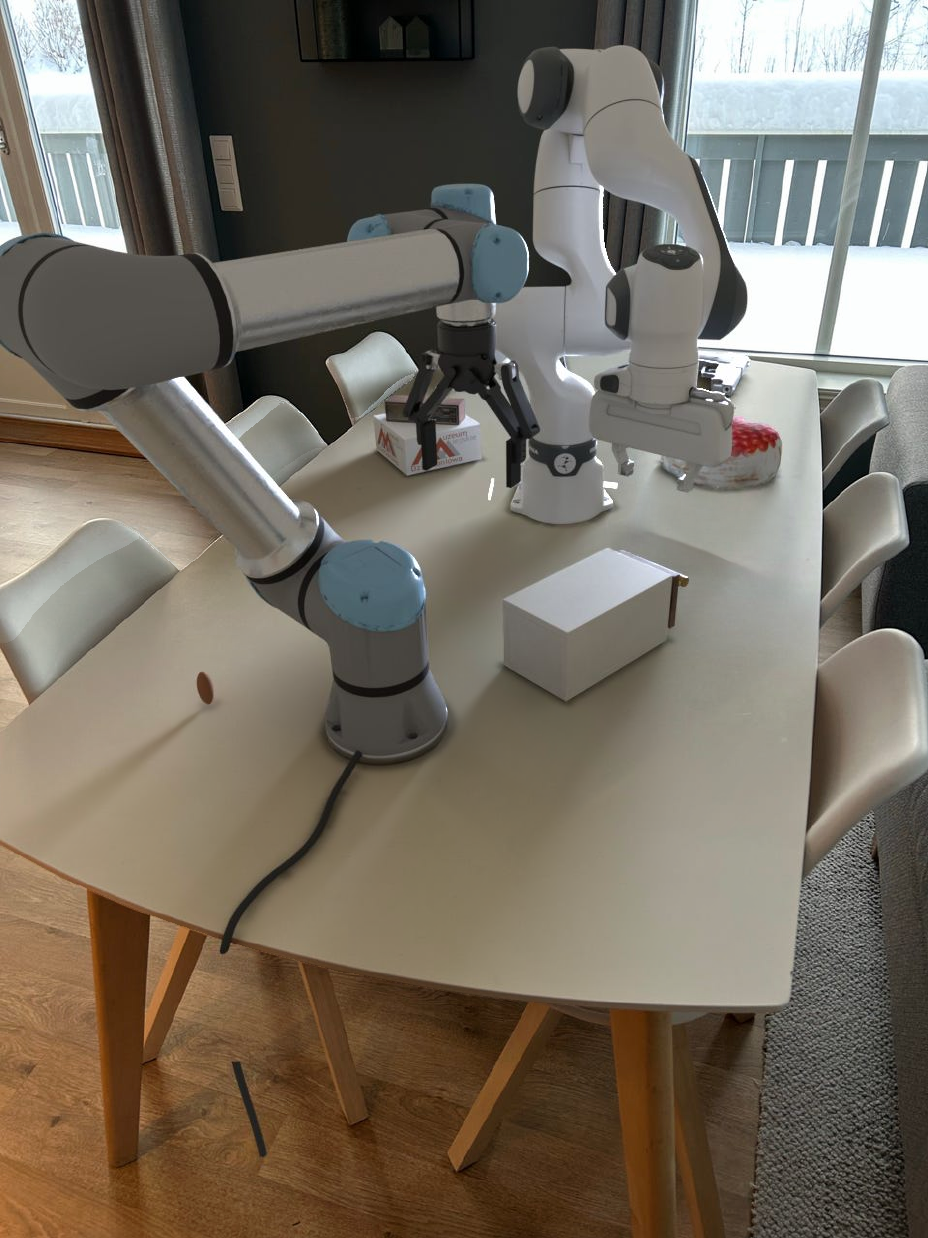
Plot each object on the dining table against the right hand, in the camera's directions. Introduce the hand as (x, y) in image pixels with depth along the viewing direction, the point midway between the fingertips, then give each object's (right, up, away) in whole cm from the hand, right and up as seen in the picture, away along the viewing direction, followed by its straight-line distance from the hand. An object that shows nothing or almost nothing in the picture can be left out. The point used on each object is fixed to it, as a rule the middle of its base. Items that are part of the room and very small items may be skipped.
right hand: (654, 482), depth 124 cm
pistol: (+35, +42, +104) cm, 118 cm away
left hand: (-25, +1, +2) cm, 25 cm away
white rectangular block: (-9, -23, +2) cm, 25 cm away
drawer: (-5, -20, +4) cm, 21 cm away
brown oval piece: (-60, -30, -5) cm, 67 cm away
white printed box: (-34, +16, +68) cm, 77 cm away
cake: (+25, +11, +56) cm, 62 cm away
